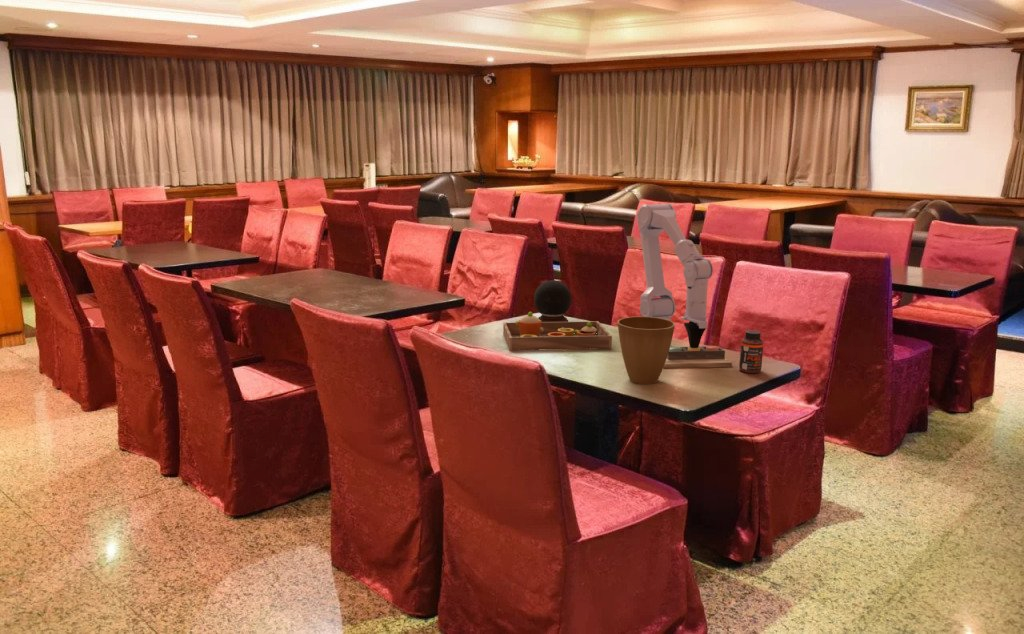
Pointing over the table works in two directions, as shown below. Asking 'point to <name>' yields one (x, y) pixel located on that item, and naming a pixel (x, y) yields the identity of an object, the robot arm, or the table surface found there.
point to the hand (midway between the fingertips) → (694, 347)
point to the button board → (696, 358)
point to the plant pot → (645, 346)
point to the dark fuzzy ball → (552, 301)
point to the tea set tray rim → (557, 337)
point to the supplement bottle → (751, 352)
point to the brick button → (712, 348)
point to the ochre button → (693, 349)
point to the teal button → (675, 349)
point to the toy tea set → (532, 328)
